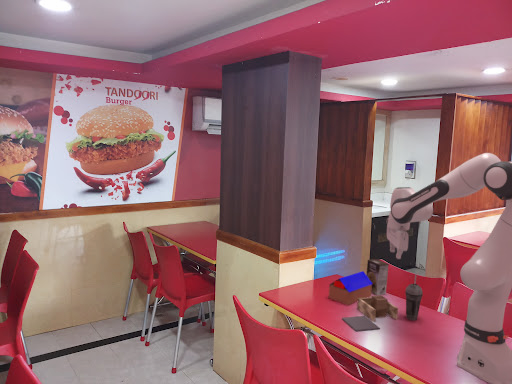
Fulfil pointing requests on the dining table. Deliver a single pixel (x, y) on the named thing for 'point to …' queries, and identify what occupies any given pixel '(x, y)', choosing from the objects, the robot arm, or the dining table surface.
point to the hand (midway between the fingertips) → (395, 255)
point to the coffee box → (377, 276)
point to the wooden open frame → (370, 312)
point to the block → (379, 305)
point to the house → (350, 288)
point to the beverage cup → (413, 300)
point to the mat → (360, 323)
